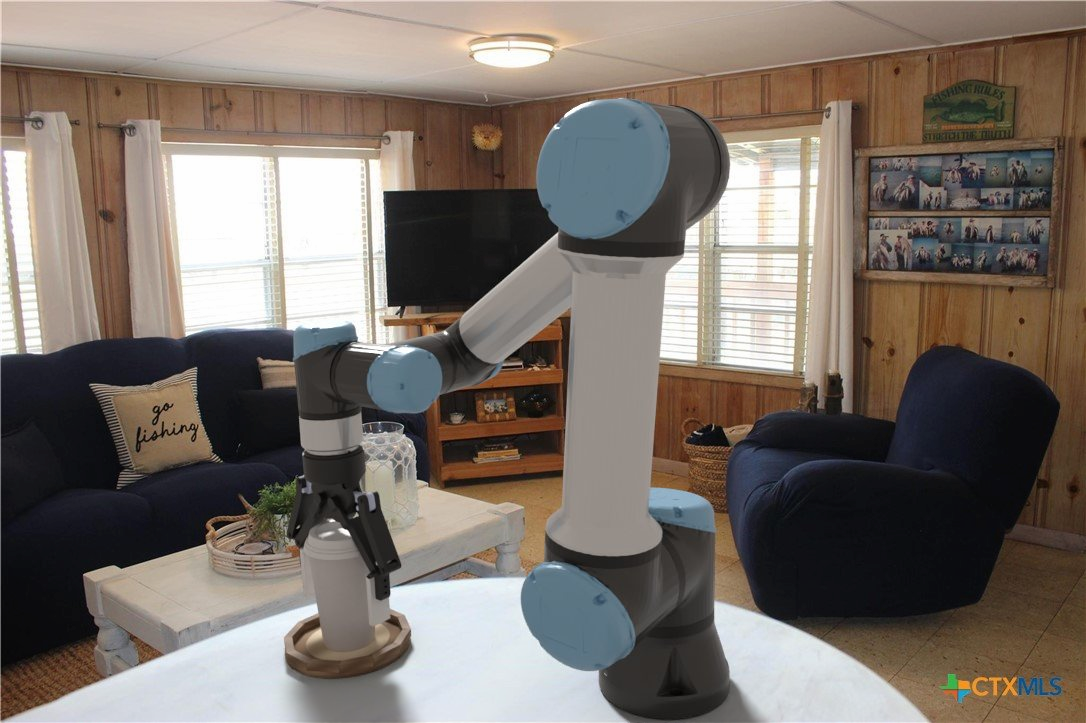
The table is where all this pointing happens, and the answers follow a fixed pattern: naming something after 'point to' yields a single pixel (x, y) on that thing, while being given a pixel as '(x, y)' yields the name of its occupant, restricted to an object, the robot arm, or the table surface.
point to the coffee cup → (339, 587)
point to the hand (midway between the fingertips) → (345, 606)
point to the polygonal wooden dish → (322, 662)
